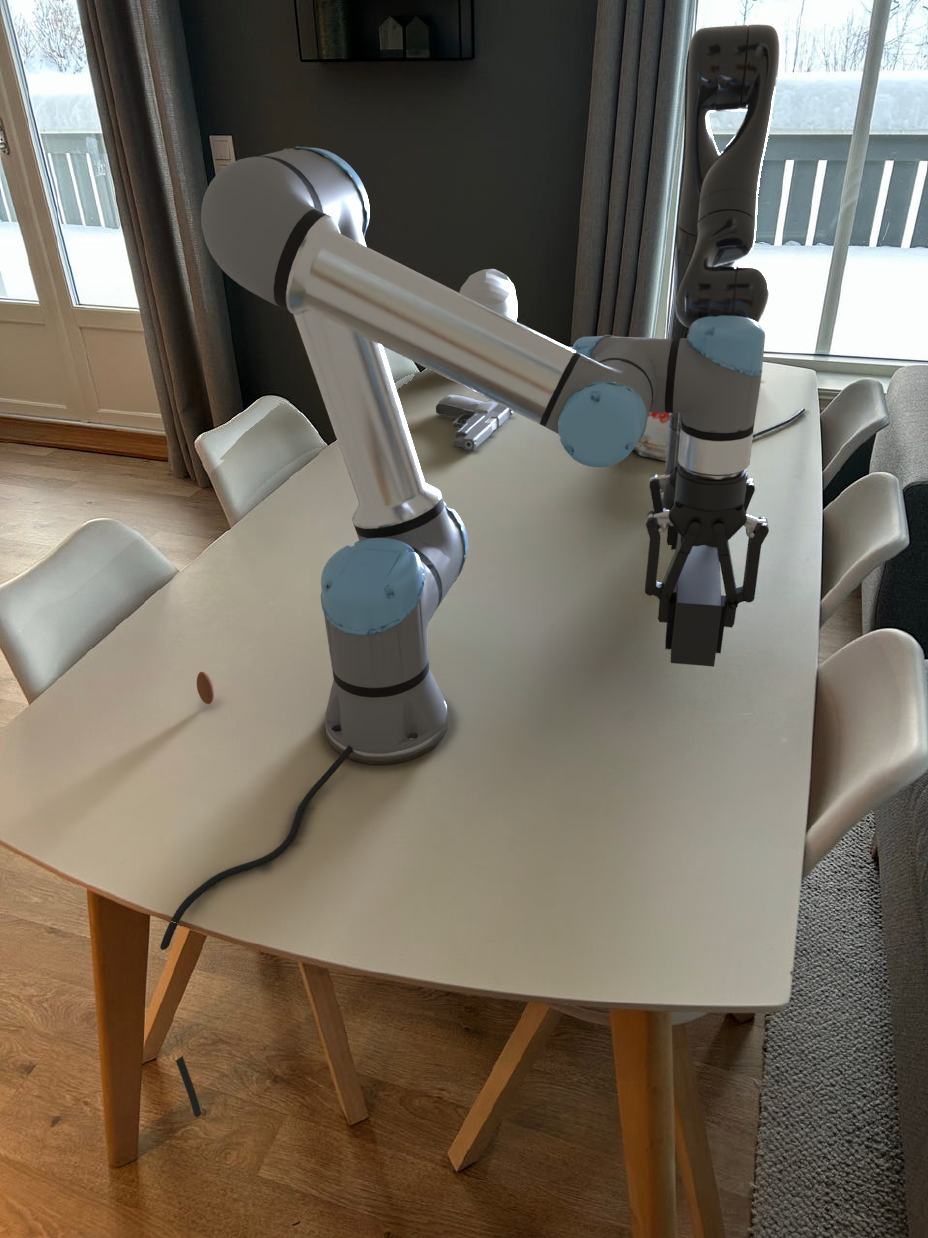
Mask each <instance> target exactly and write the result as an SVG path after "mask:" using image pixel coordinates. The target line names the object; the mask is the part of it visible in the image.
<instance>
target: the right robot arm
mask: <svg viewBox="0 0 928 1238" xmlns="http://www.w3.org/2000/svg"><path fill="white" fill-rule="evenodd" d="M779 64H780V40H779V35H778V32H777V30H776V28H774V26H772V25H769V24H743V25H742V24H741V25H725V26H720V25H719V26H708V27H702V28H699V29H698V30H696V31H695V32H694V33H693V35H692V37H691V40H690V42H689V45H688V50H687V56H686V63H685V77H684V78H685V81H684V115H683V116H684V119H683V120H684V122H683V157H682V158H683V159H682V172H681V181H680V190H679V199H678V209H677V216H676V217H677V218H676V230H675V231H676V232H675V245H674V269H673V270H674V271H673V274H674V275H673V290H672V292H673V293H672V301H671V308H670V316H669V323H668V331H667V337H666V339H681V338H687V336H688V334H689V332H690V327H691V325H692V323H693V322H695V321H696V320H698V319H700V318H704V317H718V316H738V317H744V318H748V319H751V320H754V321H756V322H757V323H759V324H760V321H761V319H762V317H763V315H764V312H765V309H766V306H767V304H768V300H769V295H770V289H769V281H768V279H767V276H766V275H765V273H764V271H762V270H761V269H760V268H758V267H756V266H755V267H754V266H734V264H735V262H737V261H740V260H742V259H743V258H745V257H746V256H747V255H749V254H750V253H751V251H752V250H753V248H754V245H755V241H756V231H757V215H758V197H759V196H758V194H759V187H760V178H761V171H762V166H763V160H764V156H765V152H766V147H767V142H768V136H769V131H770V125H771V121H772V113H773V107H774V102H775V101H774V100H775V94H776V87H777V80H778V74H779ZM739 111H740V112H745V115H744V118H743V121H742V123H741V125H740V127H739V128H738V130H737V131H736V133H735V134H734V135H733V137H732V139H731V140H730V141H729V143H728V144H727V145H726V147H725V148H724V149H723V151H721V153H720V152H719V150H718V147H717V145H716V142H715V140H714V136H713V132H712V129H711V123H710V117H709V114H710V113H714V112H715V113H717V112H719V113H720V112H739ZM805 411H806V408H804V407H803V408H801V409H800V410H799V411H797V413H795V414H794V415H793V416H791V417H789V418H788V419H786V420H784V421H782V422H779V423H777V424H774V425H772V426H770V427H767V428H764V429H763V430H761V431H757V432H755V433H753V439H755V438H756V437H759V436H761V435H764V434H767V433H769V432H770V431H773V430H776V429H778V428H781V427H782V426H785V425H787V424H789V423H791V422H792V421H794V420H795V419H796V418H799V416H800V415H802V414H803V413H804V412H805ZM681 422H682V413H675V412H673V413H670V416H669V428H668V442H667V454H666V461H665V465H664V466H665V468H664V474H663V475H658V474H657V473H652V474H651V475H650V478H649V484H648V485H649V486H648V487H649V492H650V497H651V504H652V509H653V511H654V512H656V513H661V512H665V511H669V508H670V506H671V505H672V504H673V502H674V498H675V487H676V476H677V468H678V467H679V465H680V464H679V462H678V454H679V443H680V432H681ZM755 491H756V487H755V480H754V479H753V478H751V477H747V485H746V492H745V500H744V508H745V510H746V512H747V511H748V509H749V506H750V503H751V502H752V501H751V500H752V498H753V496H754V493H755ZM666 526H667V529H666V530H667V531H666V545H667V546H669V547H670V550H671V551H675V549H676V544H677V534H678V531H677V530H676V528H675V527H674V526H673V524H672V523H671V522H669V523H667V525H666Z"/></svg>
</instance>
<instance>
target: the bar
mask: <svg viewBox="0 0 928 1238" xmlns="http://www.w3.org/2000/svg"><path fill="white" fill-rule="evenodd" d="M679 538H680V534H679V533H678V534H677V544H678V542H679ZM677 544H676V547H677ZM721 580H722V579H721V567H720V561H719V556H718V551H717V547H709V546H706V545H702V546H693V547H692V549H691V552H690V554H689V555H688V557H687V559H686V562H685V564H684V566H683V569H682V571H681V574H680V576H679V579H678V581H677V583H676V586H675V588H674V591H673V592H676V606H675V616H674V626H673V636H672V646H671V649H670V663H671V664H678V665H689V666H702V667H715V664H716V656H717V655H716V654H717V653H716V649H717V641H718V633H719V626H720V618H721V610H722V597H721V595H722V581H721Z"/></svg>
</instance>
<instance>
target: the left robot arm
mask: <svg viewBox="0 0 928 1238" xmlns="http://www.w3.org/2000/svg"><path fill="white" fill-rule="evenodd" d="M200 210H201V211H200V222H201V230H202V234H203V238H204V242H205V244H206V246H207V249H208V251H209V253H210V255H211V257H212V258H213V260H214V261H215V263H216V264H217V266H219V268H220V269H221V270H222V271H223V272H224V273H225V274H226V275H227V276H228V277H229V278H231V279H232V280H233V281H234V282H236V283H237V284H238V285H239V286H240V287H243V288H244V289H246V290H247V291H249V292H251V293H253V294H254V295H256V296H258V298H259V297H260V298H261V299H263V300H265V301H267V302H269V303H270V304H273V305H275V306H277V307H279V308H281V309H282V310H284V311H287V312H289V313H291V314H292V315H293V318H294V321H295V323H296V326H297V329H298V332H299V335H300V339H301V341H302V343H303V346H304V349H305V352H306V355H307V357H308V360H309V361H308V362H309V363H310V366H311V369H312V372H313V374H314V378H315V381H316V384H317V387H318V389H319V392H320V396H321V398H322V401H323V403H324V407H325V409H326V412H327V415H328V418H329V421H330V424H331V427H332V429H333V432H334V435H335V438H336V441H337V444H338V446H339V449H340V452H341V456H342V458H343V461H344V464H345V467H346V469H347V471H348V476H349V479H350V481H351V484H352V486H353V490H354V492H355V496H356V498H357V502H358V505H357V506H356V509H355V511H354V512H353V514H352V518H351V521H352V524H353V527H354V529H355V533H356V535H357V538H358V541H355V542H354V545H345V546H343V547H342V548H340V549H339V550H338V551H336V552H335V553H333V554H332V556H331V557H330V558H329V559H328V560H327V562H326V563H325V565H324V567H323V569H322V571H321V577H320V587H321V588H320V590H321V591H320V603H321V610H322V612H323V617H324V623H325V630H326V631H325V632H326V636H327V637H326V638H327V643H328V650H329V651H328V652H329V657H330V663H331V664H330V665H331V671H332V677H333V681H332V685H331V689H330V692H329V697H328V701H327V705H326V710H325V715H324V727H325V728H324V729H325V733H326V738H327V741H328V743H329V745H330V746H331V748H333V749H334V750H335V751H336V752H337V753H338V754H339V756H338V757H337V758H336V759H335V761H334V762H333V763H331V765H330V766H329V767H328V768H327V770H326V771H325V772H324V773H323V774H322V776H321V777H320V778H318V780H317V781H316V782H315V784H314V785H312V787H311V788H310V789H309V790H308V792H307V793H306V795H304V797H303V798H302V800H301V801H300V803H299V805H298V807H297V809H296V812H295V814H294V817H293V820H292V825H291V827H290V830H289V832H288V834H287V836H286V837H285V839H284V840H283V841H282V842H281V844H280V845H279V846H278V847H277V848H275V849H274V850H272V851H271V852H270V853H268V854H266V855H264V856H262V857H259V858H256V859H254V860H251V861H249V862H245V863H242V864H239V865H235V866H233V867H230V868H228V869H227V868H226V869H225V870H223V871H221V872H219V873H217V874H215V875H213V876H211V877H210V878H209V879H207V880H206V881H205V882H203V883H202V884H201V885H200V886H198V887H197V888H196V889H194V890H193V892H191V893H190V894H189V895H188V896H187V897H186V898H185V899H184V900H183V901H182V902H181V904H179V906H178V908H177V909H176V910H175V912H174V914H173V915H172V917H171V919H170V921H173V922H176V923H173V922H170V921H169V923H168V926H167V927H166V930H165V933H164V935H163V937H162V941H161V944H160V946H159V947H160V950H162V951H164V950H167V949H168V948H169V947H170V944H171V941H172V939H173V936H174V934H175V931H176V929H177V927H178V925H179V924H180V922H181V920H182V918H183V916H184V914H185V913H186V911H187V910H188V909H189V908H190V907H191V906H192V905H193V903H194V902H196V901H197V899H198V898H200V897H201V896H202V895H203V894H204V893H206V892H207V891H208V890H209V889H211V888H212V887H214V886H215V885H216V884H218V883H220V882H221V881H223V880H225V879H228V878H230V877H232V876H235V875H238V874H241V873H245V872H247V871H250V870H254V869H257V868H259V867H262V866H264V865H266V864H269V863H271V862H272V861H274V860H275V859H277V858H279V857H280V856H281V855H282V854H284V852H285V851H286V850H288V848H289V847H290V846H291V845H292V843H293V842H294V840H295V838H296V836H297V834H298V831H299V828H300V824H301V821H302V818H303V815H304V812H305V811H306V809H307V807H308V806H309V803H310V802H311V801H312V799H313V798H314V797H315V796H316V794H318V792H319V791H320V790H321V789H322V787H324V786H325V784H326V783H327V782H328V780H329V779H331V777H332V776H333V775H334V773H335V772H336V771H337V770H338V769H339V767H340V766H342V764H343V763H344V762H345V760H346V759H349V760H352V761H355V762H358V763H363V764H368V765H390V764H391V765H392V764H398V763H402V762H406V761H409V760H412V759H415V758H417V757H420V756H422V755H424V754H426V753H427V752H429V751H430V750H432V749H433V748H434V747H436V746H437V745H438V743H440V742H441V740H442V739H443V738H444V736H445V734H446V732H447V729H448V725H449V720H448V719H449V717H448V705H447V703H446V701H445V697H444V696H443V694H442V691H441V689H440V688H439V686H438V683H437V682H436V679H435V678H434V675H433V673H432V671H431V669H430V659H429V657H430V656H429V655H430V654H429V643H428V627H429V623H430V622H431V620H432V618H433V616H434V614H435V613H436V611H437V610H438V609H439V607H440V605H441V604H442V602H443V600H444V599H445V597H446V596H447V594H448V593H449V591H450V589H451V588H452V587H453V585H454V584H455V582H456V581H457V580H458V578H459V576H460V575H461V573H462V570H463V569H464V565H465V561H466V559H467V555H468V550H469V540H468V539H469V538H468V532H467V529H466V526H465V524H464V523H463V520H462V519H461V516H460V515H459V514H458V513H457V512H456V510H455V509H454V508H450V507H449V506H448V505H447V503H446V502H445V501H444V499H443V495H442V492H441V490H440V489H439V488H438V487H436V486H433V485H431V484H430V483H427V482H426V481H425V477H424V474H423V471H422V468H421V464H420V461H419V459H418V458H419V457H418V455H417V452H416V449H415V445H414V442H413V439H412V435H411V432H410V429H409V427H408V426H409V425H408V423H407V419H406V417H405V413H404V409H403V406H402V404H401V400H400V397H399V394H398V391H397V387H396V385H395V381H394V378H393V375H392V371H391V367H390V364H389V361H388V359H387V358H388V357H387V355H386V352H385V349H384V348H386V349H387V350H389V351H391V352H394V353H395V354H398V355H400V356H402V357H404V358H406V359H407V360H410V361H411V362H414V363H416V364H417V365H420V366H422V367H423V368H425V369H428V370H430V371H432V372H434V373H435V374H438V375H440V376H442V377H444V378H445V379H448V380H450V381H452V382H454V383H456V384H458V385H460V386H462V387H464V388H466V389H467V390H470V391H472V392H474V393H475V394H478V395H480V396H481V397H484V398H486V399H488V400H492V401H494V402H496V403H498V404H500V405H502V406H504V407H506V408H508V409H510V410H512V411H513V412H514V413H515V414H518V415H520V416H522V417H524V418H527V419H528V420H530V421H532V422H535V423H536V424H538V425H541V426H542V427H544V428H546V429H548V430H549V431H552V432H553V433H556V434H557V435H558V437H559V440H560V444H561V446H562V447H563V448H564V450H565V452H566V453H567V454H568V455H569V456H570V457H571V458H572V459H573V460H574V461H576V462H577V463H579V464H581V465H583V466H586V467H591V468H607V467H613V466H614V465H617V464H618V463H621V462H622V461H624V460H625V459H626V458H627V457H628V456H629V455H630V454H631V453H632V452H633V451H634V450H633V449H634V448H635V447H636V445H637V443H638V441H640V439H641V438H642V436H643V434H644V432H645V429H646V423H647V420H648V415H649V412H662V413H673V412H675V413H682V422H681V432H680V443H679V454H678V462H679V464H680V465H679V467H678V468H677V476H676V487H675V498H674V502H673V504H672V505H671V506H670V508H669V511H665V512H661V513H656V512H654V510H650V511H648V512H647V514H646V519H645V527H646V531H647V534H648V537H649V544H648V553H647V554H648V555H647V563H646V576H645V584H644V585H645V586H644V593H645V595H646V596H649V597H651V596H654V597H656V598H657V599H658V611H657V612H658V613H657V620H658V622H659V623H666V629H665V640H664V641H665V642H664V646H665V647H664V649H665V650H671V646H672V636H673V626H674V616H675V606H676V592H673V591H674V588H675V586H676V583H677V581H678V579H679V576H680V574H681V571H682V569H683V566H684V564H685V562H686V559H687V557H688V555H689V554H690V552H691V549H692V547H693V546H702V545H706V546H709V547H717V551H718V556H719V561H720V573H721V577H722V583H723V589H724V593H725V594H721V597H722V610H721V618H720V626H719V633H718V641H717V649H716V654H721V653H722V647H723V640H724V631H725V628H733V627H734V625H735V623H736V621H735V620H736V613H737V609H738V607H739V604H740V603H744V602H745V603H752V602H754V600H755V597H756V591H757V590H756V589H757V583H758V582H757V581H758V575H759V574H758V573H759V566H760V559H761V550H762V545H763V543H764V541H765V539H766V538H767V536H768V534H769V531H770V529H769V523H768V519H767V517H766V516H759V517H754V516H752V515H749V514H747V511H746V510H745V508H744V500H745V492H746V485H747V478H749V477H748V476H749V472H748V470H747V469H748V468H749V466H750V463H751V455H752V447H753V439H754V438H753V434H754V431H755V423H756V415H757V409H758V403H759V395H760V388H761V387H760V386H761V382H762V377H763V365H764V355H763V354H764V353H765V342H766V333H765V330H764V328H763V326H762V325H761V324H760V322H759V323H757V322H756V321H754V320H751V319H748V318H744V317H738V316H718V317H704V318H700V319H698V320H696V321H695V322H693V323H692V325H691V327H690V332H689V334H688V336H687V338H681V339H667V338H659V337H657V338H656V337H633V336H615V335H612V334H604V335H599V336H598V335H597V336H596V335H595V336H594V335H593V336H581V337H579V338H578V339H576V341H575V342H574V343H573V345H572V348H571V347H569V346H567V345H565V344H563V343H560V342H558V341H556V340H554V339H553V338H551V337H549V336H547V335H544V334H543V333H541V332H539V331H537V330H534V329H532V328H530V327H528V326H526V325H525V324H523V323H521V322H518V321H514V320H512V319H510V318H508V317H506V316H504V315H502V314H500V313H498V312H496V311H494V310H492V309H490V308H488V307H486V306H484V305H482V304H480V303H478V302H476V301H474V300H472V299H470V298H468V297H466V296H464V295H462V294H460V292H459V291H456V290H454V289H452V288H450V287H448V286H446V285H445V284H442V283H440V282H438V281H437V280H434V279H432V278H431V277H428V276H426V275H424V274H422V273H420V272H418V271H416V270H414V269H412V268H410V267H408V266H406V265H404V264H402V263H400V262H398V261H396V260H394V259H393V258H390V257H388V256H386V255H384V254H382V253H380V252H378V251H376V250H374V249H372V248H370V247H367V244H366V240H365V236H366V233H367V231H368V226H369V223H370V213H371V212H370V202H369V198H368V194H367V191H366V188H365V186H364V184H363V182H362V179H361V178H360V176H359V175H358V174H357V173H356V171H355V170H354V169H353V167H351V165H350V164H348V162H347V161H345V160H344V159H343V158H341V157H340V156H338V155H337V154H335V153H333V152H331V151H329V150H327V149H322V148H319V147H308V146H294V147H291V148H283V149H282V150H279V151H275V152H270V153H267V154H261V155H258V156H250V157H245V158H244V157H243V158H240V159H238V160H236V161H233V162H231V163H229V164H228V165H226V166H224V167H223V168H222V169H221V170H220V171H218V172H217V174H216V175H215V176H214V177H213V179H212V180H211V181H210V182H209V185H208V186H207V189H206V191H205V193H204V195H203V199H202V203H201V209H200ZM669 522H671V523H672V524H673V526H674V527H675V528H676V530H677V531H678V533H679V534H680V538H679V542H678V544H677V547H676V549H675V550H674V552H673V555H672V557H671V560H670V562H669V565H668V567H667V569H666V571H665V574H664V577H663V579H662V582H660V581H658V579H657V577H658V571H659V570H658V569H659V560H660V549H661V539H662V533H665V532H666V530H667V526H668V525H667V523H669ZM743 527H745V534H746V536H747V539H748V540H747V547H746V556H745V565H744V573H743V581H742V586H739V587H737V584H736V578H735V572H734V566H733V560H732V556H731V550H730V544H729V540H731V538H733V536H735V534H737V532H738V531H740V530H741V529H742V528H743ZM177 923H178V924H177ZM175 1063H176V1066H177V1068H178V1071H179V1074H180V1077H181V1079H182V1082H183V1085H184V1088H185V1091H186V1092H187V1096H188V1099H189V1102H190V1106H191V1109H192V1113H193V1116H194V1117H195V1118H199V1117H200V1116H201V1115H202V1110H201V1105H200V1103H199V1099H198V1095H197V1093H196V1089H195V1087H194V1084H193V1081H192V1078H191V1075H190V1073H189V1069H188V1067H187V1064H186V1062H185V1059H184V1056H183V1055H182V1056H180V1057H179V1058H177V1059H176V1060H175Z"/></svg>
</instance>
